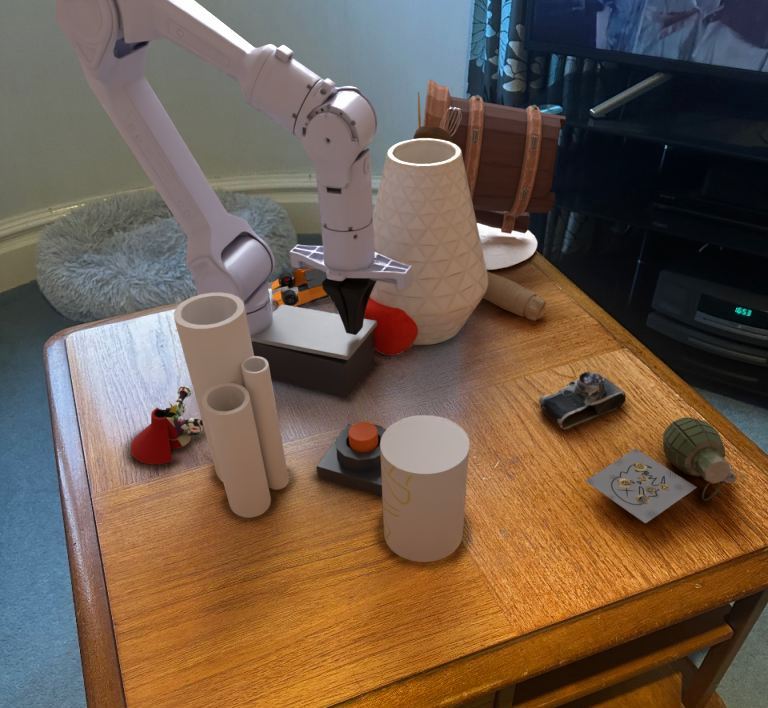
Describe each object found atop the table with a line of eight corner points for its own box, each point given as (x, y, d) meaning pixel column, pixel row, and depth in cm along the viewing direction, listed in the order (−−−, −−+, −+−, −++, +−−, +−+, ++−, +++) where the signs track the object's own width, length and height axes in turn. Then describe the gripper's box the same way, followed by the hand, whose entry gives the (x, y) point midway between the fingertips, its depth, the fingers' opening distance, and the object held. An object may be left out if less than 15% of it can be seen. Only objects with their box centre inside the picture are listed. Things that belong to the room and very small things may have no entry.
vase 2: (406, 281, 110) (405, 116, 93) (507, 314, 102) (525, 142, 86) (335, 333, 100) (320, 161, 84) (441, 374, 93) (447, 194, 76)
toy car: (304, 248, 111) (310, 267, 113) (255, 291, 105) (262, 310, 108) (367, 260, 105) (371, 280, 108) (319, 306, 100) (324, 326, 102)
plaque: (395, 228, 122) (395, 219, 121) (501, 209, 127) (502, 200, 126) (444, 286, 109) (445, 277, 108) (559, 262, 114) (561, 253, 113)
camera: (532, 409, 88) (536, 381, 85) (599, 384, 91) (606, 356, 88) (558, 433, 84) (563, 404, 81) (626, 405, 88) (634, 377, 85)
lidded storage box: (375, 363, 95) (373, 328, 92) (346, 399, 90) (343, 364, 86) (287, 342, 99) (282, 308, 96) (255, 375, 94) (248, 341, 90)
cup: (380, 506, 77) (376, 418, 68) (456, 500, 77) (461, 412, 69) (387, 565, 71) (384, 477, 63) (468, 558, 72) (476, 470, 63)
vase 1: (208, 458, 83) (165, 303, 69) (268, 440, 85) (238, 285, 71) (237, 523, 76) (195, 364, 61) (301, 501, 78) (275, 342, 63)
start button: (344, 448, 79) (343, 436, 78) (357, 431, 81) (356, 419, 80) (370, 456, 78) (369, 443, 77) (382, 438, 80) (382, 426, 79)
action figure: (228, 441, 85) (219, 404, 81) (151, 479, 81) (137, 442, 77) (192, 405, 90) (182, 368, 86) (117, 438, 86) (103, 402, 82)
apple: (384, 321, 102) (382, 270, 97) (436, 340, 99) (437, 288, 93) (345, 351, 98) (341, 299, 92) (399, 372, 94) (398, 319, 88)
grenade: (687, 470, 84) (728, 515, 76) (638, 446, 82) (674, 490, 74) (724, 425, 81) (770, 467, 73) (674, 399, 79) (716, 439, 71)
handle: (526, 318, 97) (438, 275, 103) (536, 333, 103) (452, 291, 109) (545, 286, 97) (456, 245, 103) (554, 303, 103) (469, 263, 108)
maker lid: (377, 324, 91) (377, 320, 90) (347, 360, 86) (347, 356, 85) (282, 308, 96) (281, 304, 95) (248, 341, 90) (247, 336, 90)
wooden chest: (408, 265, 115) (532, 278, 115) (422, 145, 94) (574, 161, 94) (417, 178, 122) (534, 190, 122) (431, 47, 100) (573, 63, 101)
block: (317, 477, 80) (314, 453, 78) (349, 434, 85) (347, 411, 83) (382, 496, 78) (381, 473, 75) (411, 451, 83) (411, 428, 80)
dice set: (638, 460, 78) (635, 473, 79) (606, 481, 76) (603, 494, 77) (677, 485, 75) (673, 498, 76) (644, 507, 73) (641, 520, 74)
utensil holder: (444, 181, 92) (465, 89, 92) (396, 172, 93) (417, 81, 92) (444, 201, 98) (464, 115, 98) (399, 193, 98) (419, 107, 98)
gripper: (270, 224, 77) (286, 334, 87) (393, 247, 73) (395, 360, 83) (301, 199, 82) (313, 306, 92) (419, 218, 77) (419, 329, 87)
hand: (354, 329), depth 88 cm, fingers closed
